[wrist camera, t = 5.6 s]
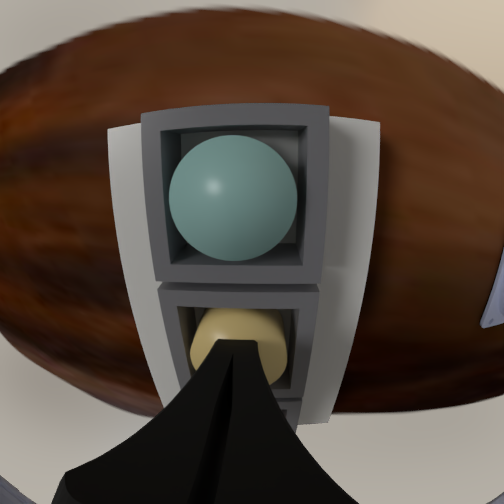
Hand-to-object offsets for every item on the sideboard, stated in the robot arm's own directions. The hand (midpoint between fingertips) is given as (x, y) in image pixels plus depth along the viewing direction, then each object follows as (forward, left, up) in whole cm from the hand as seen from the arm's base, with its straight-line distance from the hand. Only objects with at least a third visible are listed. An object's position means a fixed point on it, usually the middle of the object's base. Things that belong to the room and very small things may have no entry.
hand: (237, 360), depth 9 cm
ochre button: (0, 0, -2) cm, 2 cm away
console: (0, 0, -4) cm, 4 cm away
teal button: (0, -5, -2) cm, 6 cm away
